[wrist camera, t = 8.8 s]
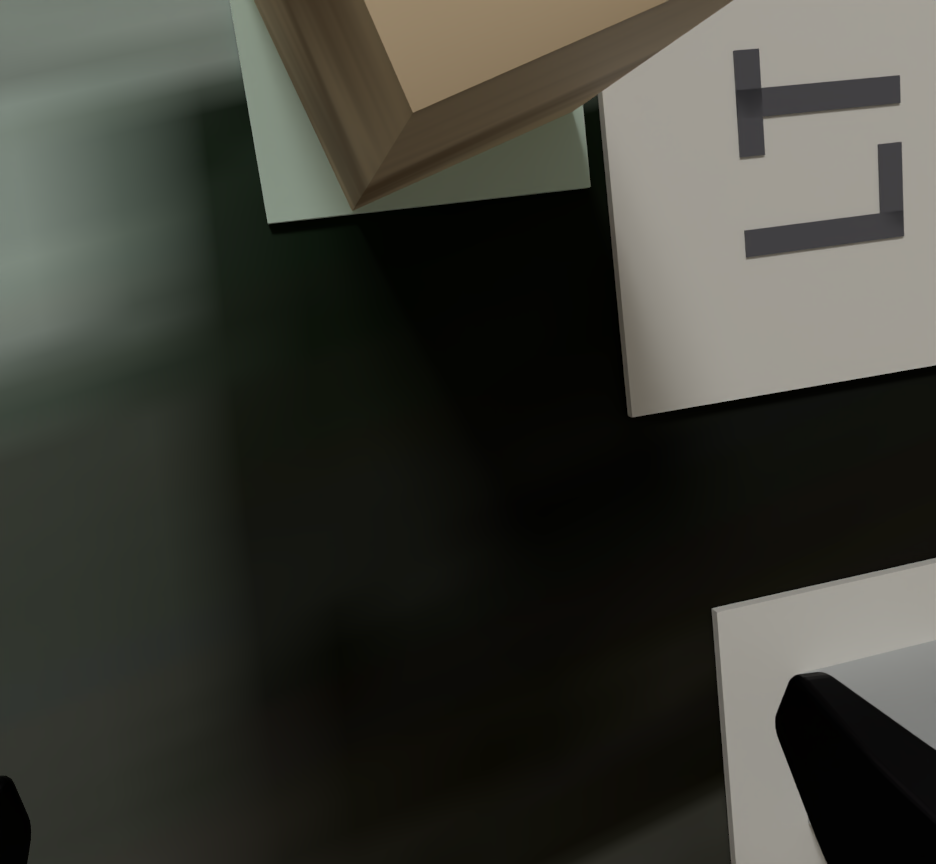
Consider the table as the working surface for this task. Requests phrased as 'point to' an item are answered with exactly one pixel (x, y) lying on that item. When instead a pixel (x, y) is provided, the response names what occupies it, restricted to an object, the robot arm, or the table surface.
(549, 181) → the green mat
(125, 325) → the table surface
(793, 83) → the tile
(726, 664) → the plain tile
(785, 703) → the robot arm
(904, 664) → the grey block
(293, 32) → the oak block
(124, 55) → the table surface
